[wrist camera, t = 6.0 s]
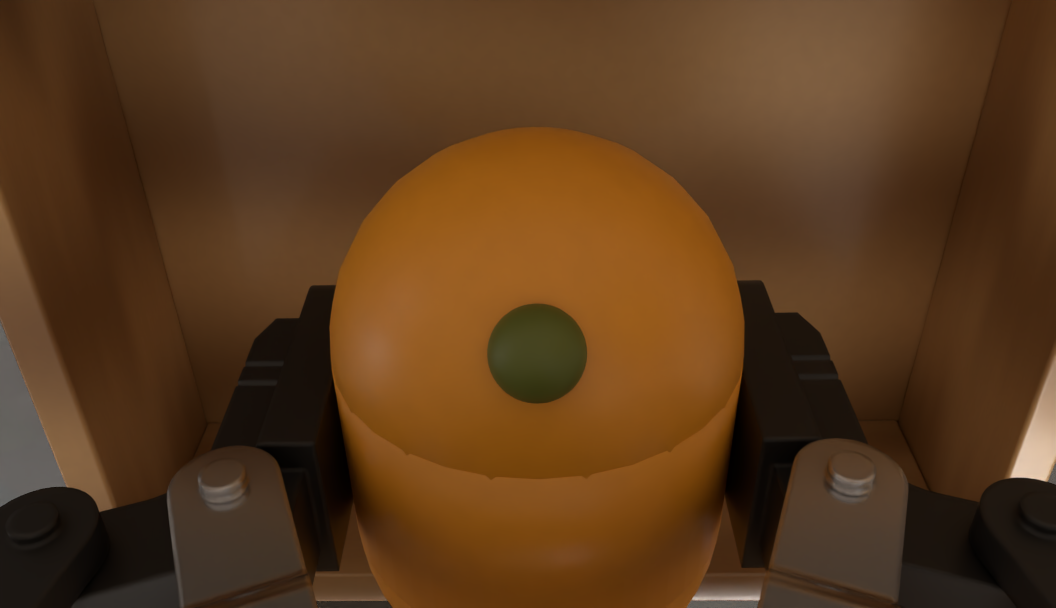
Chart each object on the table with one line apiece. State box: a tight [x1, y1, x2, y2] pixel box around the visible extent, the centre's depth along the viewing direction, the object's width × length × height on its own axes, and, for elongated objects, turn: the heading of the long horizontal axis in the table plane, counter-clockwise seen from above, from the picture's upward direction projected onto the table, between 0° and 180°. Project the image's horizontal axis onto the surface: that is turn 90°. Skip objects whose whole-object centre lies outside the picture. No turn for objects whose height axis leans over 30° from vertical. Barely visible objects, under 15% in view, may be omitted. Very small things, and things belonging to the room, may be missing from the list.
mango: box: [329, 127, 745, 608], centre depth 13 cm, size 8×5×5 cm, turn 1°
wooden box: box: [0, 0, 1056, 601], centre depth 17 cm, size 14×18×5 cm
